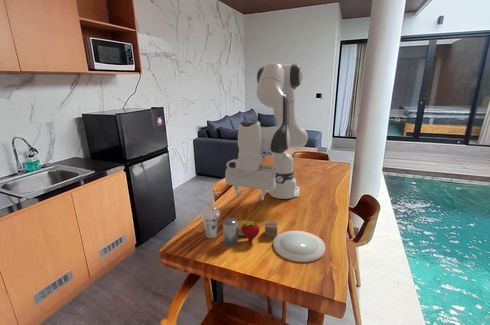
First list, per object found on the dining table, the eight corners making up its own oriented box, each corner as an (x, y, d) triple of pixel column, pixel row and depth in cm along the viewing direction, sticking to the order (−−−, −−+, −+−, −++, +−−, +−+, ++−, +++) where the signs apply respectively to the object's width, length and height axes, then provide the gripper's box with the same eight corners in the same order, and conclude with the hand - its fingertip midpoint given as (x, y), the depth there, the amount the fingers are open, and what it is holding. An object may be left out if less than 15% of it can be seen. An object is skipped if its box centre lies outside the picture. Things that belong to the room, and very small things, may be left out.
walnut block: (265, 231, 115) (265, 221, 113) (276, 232, 114) (276, 221, 113) (265, 237, 110) (265, 226, 108) (277, 238, 109) (277, 227, 108)
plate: (281, 229, 116) (282, 226, 115) (328, 239, 108) (329, 236, 107) (265, 253, 98) (265, 250, 98) (320, 267, 90) (320, 264, 90)
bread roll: (249, 224, 119) (249, 216, 118) (254, 235, 111) (254, 227, 110) (231, 226, 118) (231, 218, 117) (235, 237, 109) (235, 228, 108)
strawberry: (257, 246, 104) (257, 223, 101) (239, 243, 106) (239, 220, 103) (261, 238, 109) (261, 216, 106) (243, 235, 111) (243, 214, 109)
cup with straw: (207, 229, 117) (205, 187, 112) (225, 232, 114) (224, 189, 109) (197, 238, 110) (194, 194, 104) (216, 242, 106) (214, 196, 101)
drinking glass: (228, 236, 111) (227, 216, 108) (240, 239, 108) (240, 219, 106) (220, 244, 105) (219, 223, 103) (234, 247, 103) (233, 226, 101)
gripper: (278, 164, 97) (278, 198, 101) (230, 159, 106) (231, 191, 109) (273, 168, 92) (272, 204, 95) (222, 162, 100) (223, 196, 104)
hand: (250, 197), depth 102 cm, fingers open, 8 cm apart
